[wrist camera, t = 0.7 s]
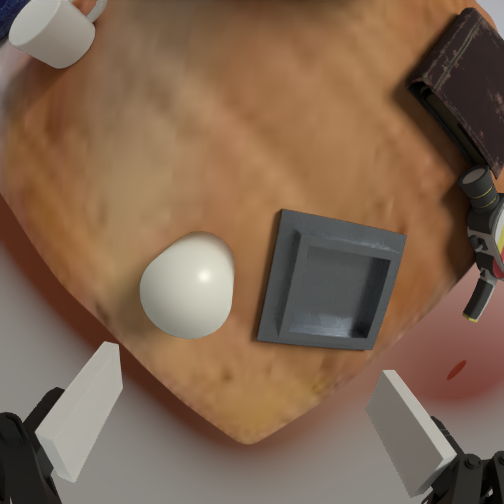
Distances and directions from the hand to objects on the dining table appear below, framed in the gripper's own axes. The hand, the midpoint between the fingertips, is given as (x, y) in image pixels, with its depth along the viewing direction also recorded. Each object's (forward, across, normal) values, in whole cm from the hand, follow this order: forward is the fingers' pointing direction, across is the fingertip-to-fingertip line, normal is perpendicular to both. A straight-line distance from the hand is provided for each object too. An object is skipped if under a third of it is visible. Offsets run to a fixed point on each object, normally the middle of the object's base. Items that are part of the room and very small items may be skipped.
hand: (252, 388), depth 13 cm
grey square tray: (+22, +11, -1) cm, 24 cm away
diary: (+21, +31, +32) cm, 50 cm away
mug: (+22, -27, +29) cm, 46 cm away
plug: (+22, -5, 0) cm, 22 cm away
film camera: (+22, +32, +8) cm, 40 cm away
